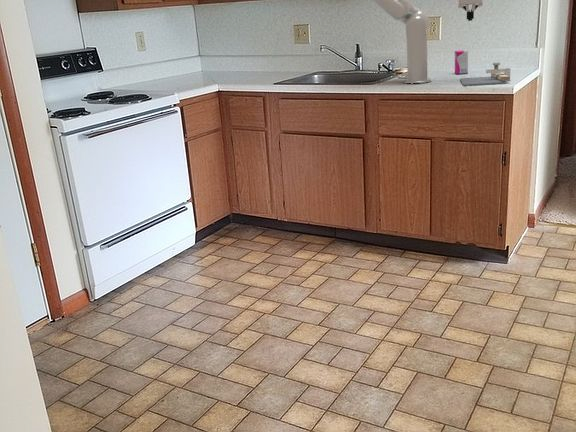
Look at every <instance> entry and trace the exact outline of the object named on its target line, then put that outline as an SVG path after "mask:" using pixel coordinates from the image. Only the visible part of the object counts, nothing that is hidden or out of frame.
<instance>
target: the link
mask: <svg viewBox="0 0 576 432" xmlns="http://www.w3.org/2000/svg"><path fill="white" fill-rule="evenodd" d="M500 65H501V62H492V66H493V69H499V66H500ZM490 77H494V78H497V79H499V80H501V81H506V82H510V81H511V75H510V76H507V75H505V74H504V73H503V72H502V73H490Z"/></svg>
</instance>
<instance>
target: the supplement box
mask: <svg viewBox="0 0 576 432" xmlns="http://www.w3.org/2000/svg"><path fill="white" fill-rule="evenodd" d="M468 55H469V51H468V50H467V49H463V50H454V74H455V75H456V76H457V75H468V74H469V56H468Z"/></svg>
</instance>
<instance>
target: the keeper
mask: <svg viewBox="0 0 576 432" xmlns="http://www.w3.org/2000/svg"><path fill="white" fill-rule="evenodd" d="M485 72H486V74H491V73H502V74H505V75H507V76H510V77H511V68H509V67H507V68H498V69H494V68H492V69H491V68H490V69H489V68H488V69H486V71H485Z"/></svg>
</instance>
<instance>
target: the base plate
mask: <svg viewBox="0 0 576 432" xmlns="http://www.w3.org/2000/svg"><path fill="white" fill-rule="evenodd" d="M459 80H460V84H462V86H463V87H472V86H473V87H474V86H489V85H491V86H493V85H507V81H501V80H499V79H497V78H494V77H491V76H477V77H462V78H459Z"/></svg>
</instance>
